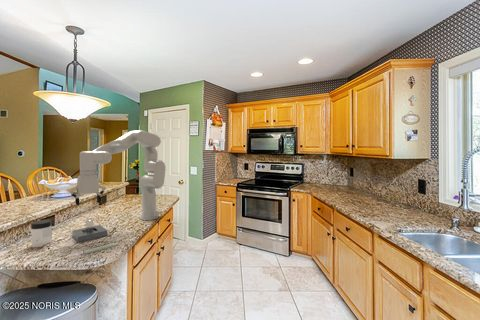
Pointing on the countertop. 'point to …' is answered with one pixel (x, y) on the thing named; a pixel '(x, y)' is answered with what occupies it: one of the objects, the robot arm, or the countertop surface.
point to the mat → (99, 248)
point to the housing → (89, 234)
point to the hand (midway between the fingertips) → (88, 203)
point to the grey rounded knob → (89, 226)
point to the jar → (41, 232)
